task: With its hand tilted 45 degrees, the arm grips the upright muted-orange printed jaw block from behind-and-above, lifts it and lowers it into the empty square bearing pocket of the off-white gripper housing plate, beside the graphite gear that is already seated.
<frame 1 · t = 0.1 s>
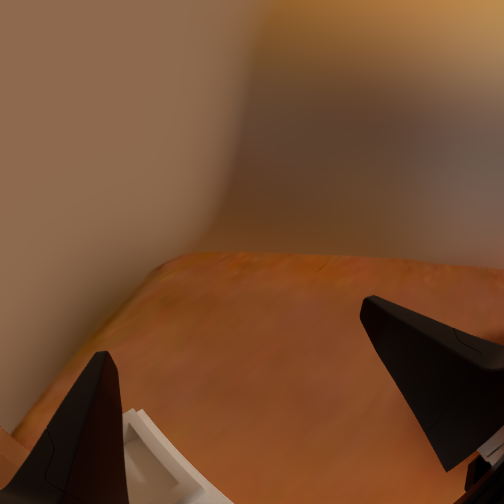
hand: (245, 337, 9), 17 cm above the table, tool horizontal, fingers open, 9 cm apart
jaw block: (38, 487, 12), on the table
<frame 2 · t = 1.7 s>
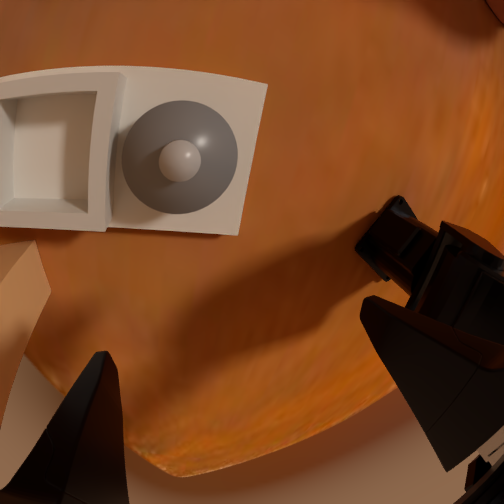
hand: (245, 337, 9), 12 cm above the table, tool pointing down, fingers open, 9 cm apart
jaw block: (21, 269, 17), on the table
housing: (109, 145, 15), on the table
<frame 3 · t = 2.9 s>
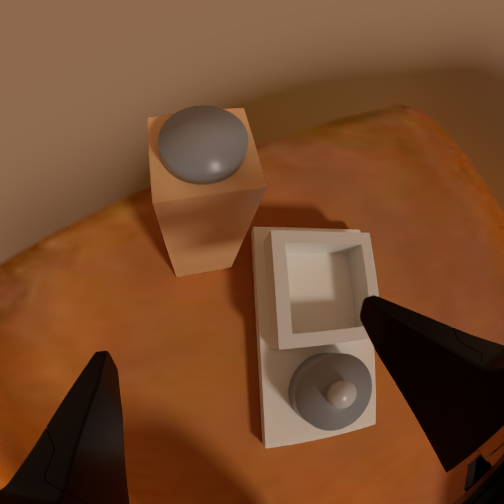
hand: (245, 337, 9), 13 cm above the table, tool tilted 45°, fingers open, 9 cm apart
jaw block: (199, 245, 24), on the table
housing: (315, 334, 23), on the table
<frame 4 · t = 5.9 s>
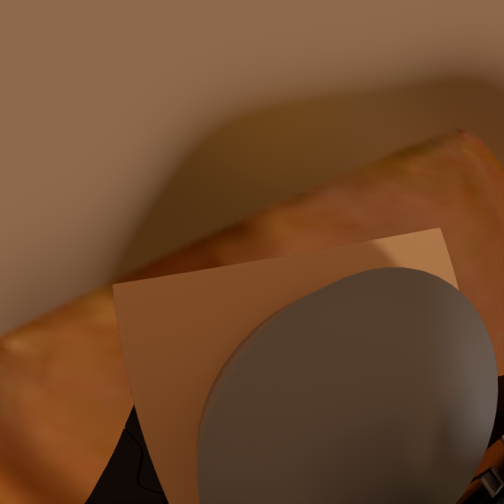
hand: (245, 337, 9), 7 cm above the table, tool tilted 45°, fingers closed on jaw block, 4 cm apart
jaw block: (232, 363, 15), on the table, touching gripper
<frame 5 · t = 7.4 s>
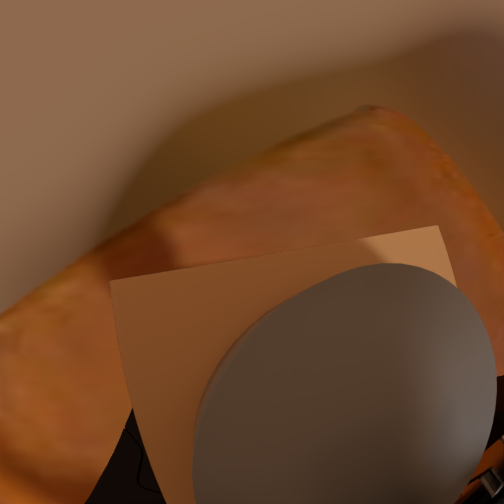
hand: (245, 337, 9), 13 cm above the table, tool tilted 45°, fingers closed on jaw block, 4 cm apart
jaw block: (231, 362, 15), point 6 cm above the table, touching gripper
when the fingers open (9 cm above the table, at t = 8.9 s): jaw block drops 1 cm, resting on housing.
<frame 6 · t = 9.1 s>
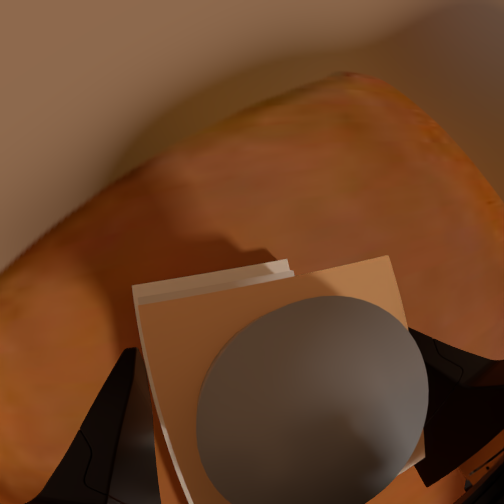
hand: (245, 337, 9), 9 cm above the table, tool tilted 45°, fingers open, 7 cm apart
jaw block: (229, 361, 16), point 1 cm above the table, touching housing
housing: (239, 410, 16), on the table
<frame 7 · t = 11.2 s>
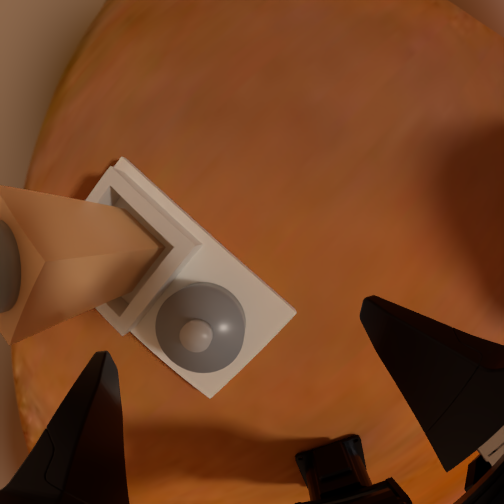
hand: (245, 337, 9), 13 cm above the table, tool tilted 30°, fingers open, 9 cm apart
jaw block: (127, 250, 21), point 1 cm above the table, touching housing
housing: (164, 278, 22), on the table
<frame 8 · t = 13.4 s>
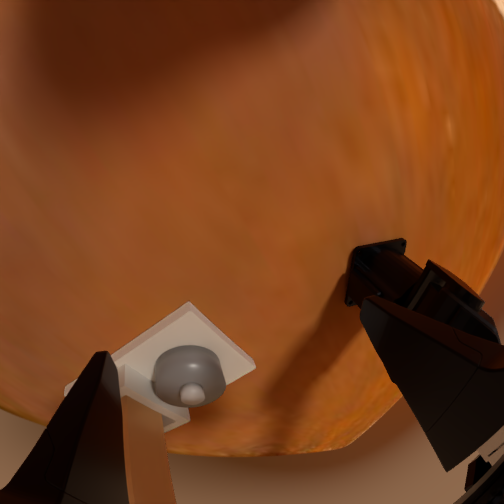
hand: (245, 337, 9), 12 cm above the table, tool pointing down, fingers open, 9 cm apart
jaw block: (130, 400, 24), point 1 cm above the table, touching housing
housing: (152, 378, 25), on the table
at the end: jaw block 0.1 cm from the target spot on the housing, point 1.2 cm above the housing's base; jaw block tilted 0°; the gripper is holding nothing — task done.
